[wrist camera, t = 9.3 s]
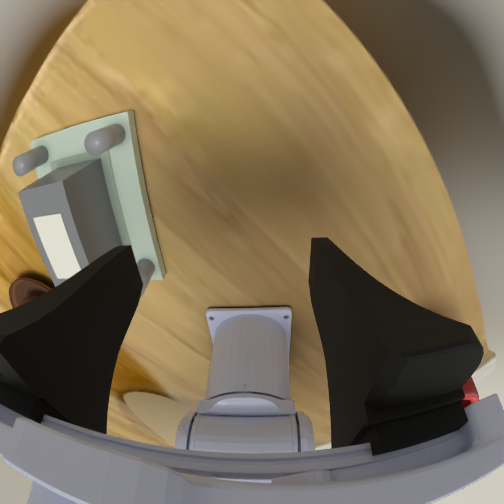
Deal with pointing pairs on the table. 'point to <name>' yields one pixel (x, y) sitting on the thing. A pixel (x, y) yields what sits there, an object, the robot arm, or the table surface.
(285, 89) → the table surface
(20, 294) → the cup and saucer
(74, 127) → the tray
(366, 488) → the robot arm
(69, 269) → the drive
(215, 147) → the table surface
